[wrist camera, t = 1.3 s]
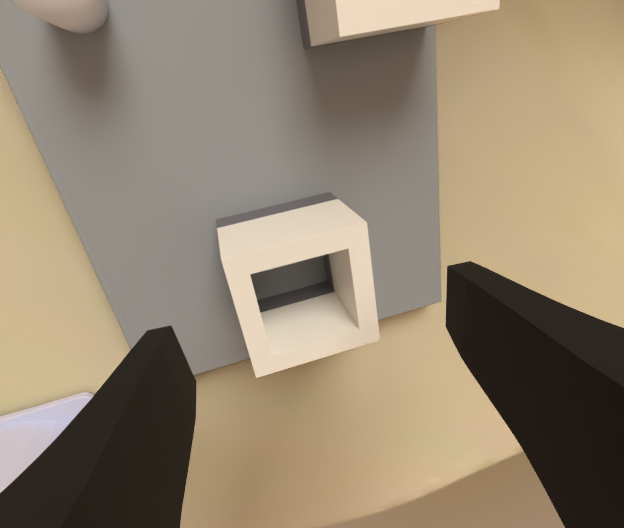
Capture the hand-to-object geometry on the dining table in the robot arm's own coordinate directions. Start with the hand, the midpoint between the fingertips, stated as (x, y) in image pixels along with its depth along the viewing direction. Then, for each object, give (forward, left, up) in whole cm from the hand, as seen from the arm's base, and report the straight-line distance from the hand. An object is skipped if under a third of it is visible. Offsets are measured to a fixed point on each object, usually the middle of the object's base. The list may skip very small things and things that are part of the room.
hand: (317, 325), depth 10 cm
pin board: (+3, -1, -10) cm, 10 cm away
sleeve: (-2, -1, -9) cm, 9 cm away
